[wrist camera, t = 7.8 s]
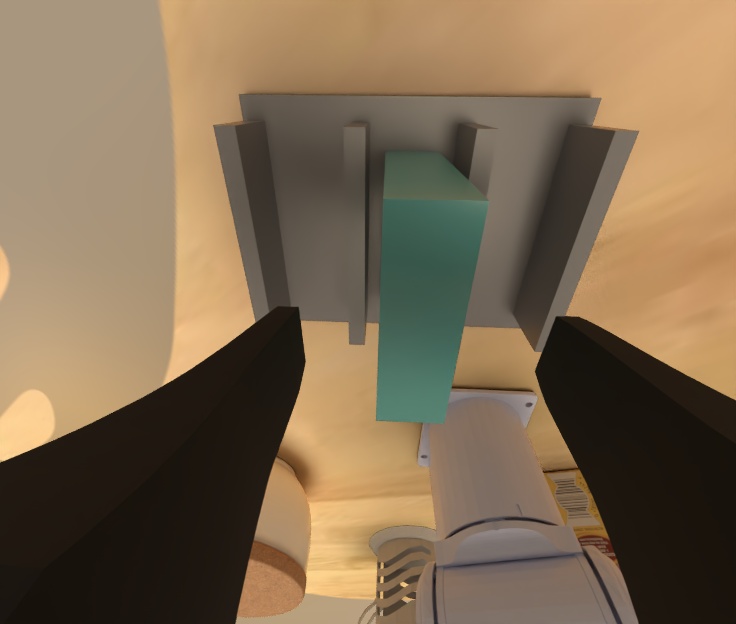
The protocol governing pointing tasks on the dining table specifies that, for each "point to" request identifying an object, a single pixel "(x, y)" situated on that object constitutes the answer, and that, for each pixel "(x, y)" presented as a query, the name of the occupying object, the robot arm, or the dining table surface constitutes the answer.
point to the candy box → (579, 510)
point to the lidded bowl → (278, 548)
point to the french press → (400, 570)
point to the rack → (366, 186)
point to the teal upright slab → (424, 282)
